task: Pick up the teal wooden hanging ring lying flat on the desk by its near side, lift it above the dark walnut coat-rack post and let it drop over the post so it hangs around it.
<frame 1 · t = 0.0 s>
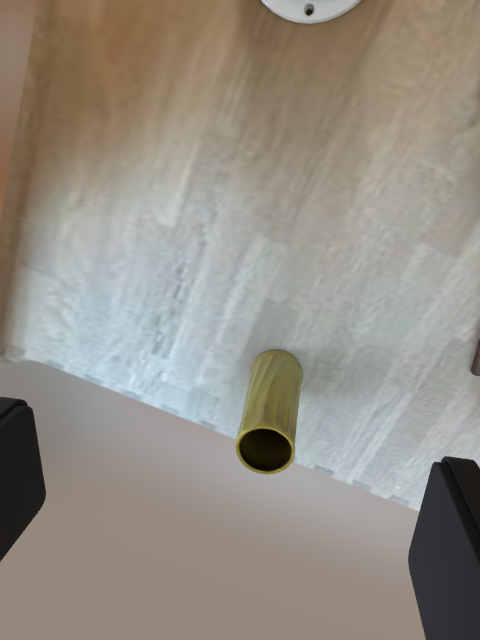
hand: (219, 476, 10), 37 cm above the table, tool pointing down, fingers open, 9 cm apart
vase: (276, 372, 50), on the table
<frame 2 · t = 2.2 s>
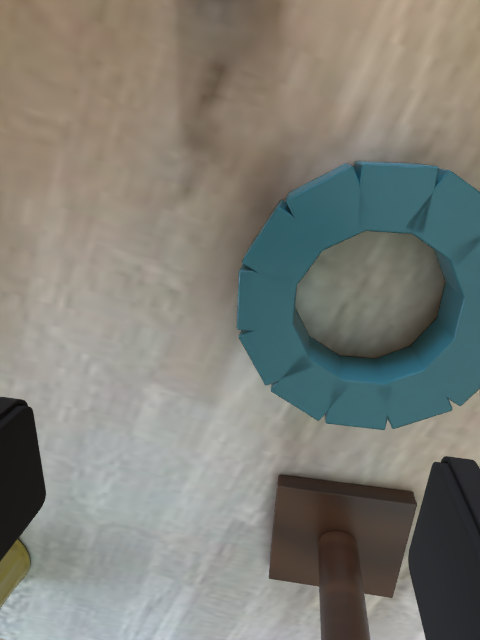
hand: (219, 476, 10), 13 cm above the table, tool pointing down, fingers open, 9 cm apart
ring: (366, 293, 21), on the table
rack: (336, 531, 27), on the table
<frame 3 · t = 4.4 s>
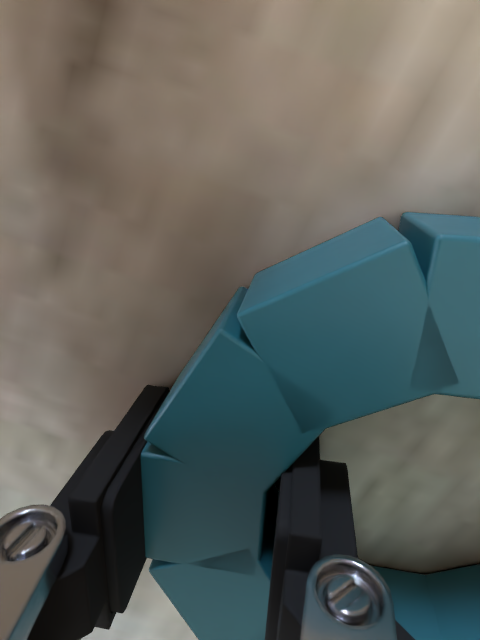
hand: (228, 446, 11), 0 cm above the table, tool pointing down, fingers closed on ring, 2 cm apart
ring: (414, 467, 10), on the table, touching gripper
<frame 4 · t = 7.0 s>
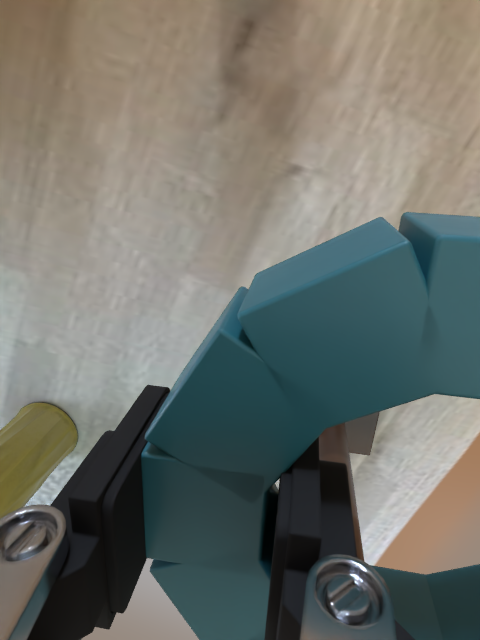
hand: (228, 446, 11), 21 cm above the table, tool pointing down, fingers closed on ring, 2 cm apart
ring: (415, 467, 10), point 21 cm above the table, touching gripper
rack: (326, 401, 34), on the table
vase: (49, 427, 40), on the table
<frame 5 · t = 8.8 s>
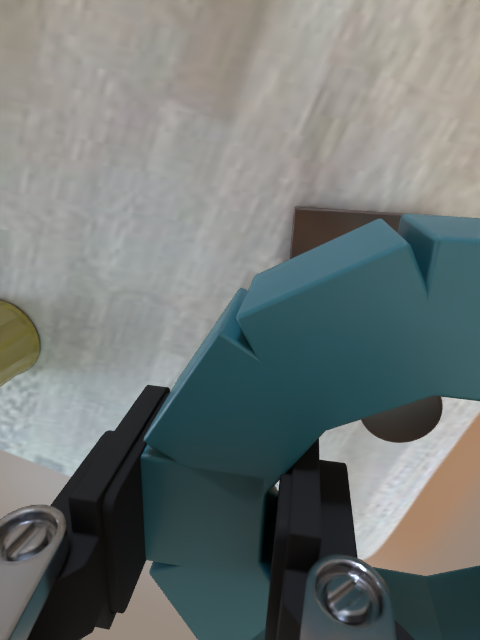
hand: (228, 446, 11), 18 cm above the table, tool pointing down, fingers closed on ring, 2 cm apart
ring: (415, 468, 10), point 17 cm above the table, touching gripper
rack: (353, 276, 26), on the table
vase: (5, 335, 32), on the table
when the fingers open (14 cm above the table, at t = 10.1 s): ring drops 13 cm, resting on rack.
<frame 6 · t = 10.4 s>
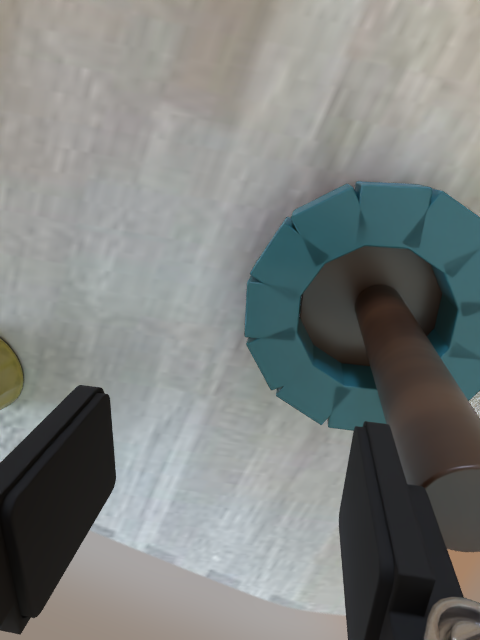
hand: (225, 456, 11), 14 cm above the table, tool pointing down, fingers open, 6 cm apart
ring: (367, 304, 22), point 1 cm above the table, touching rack
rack: (375, 300, 23), on the table
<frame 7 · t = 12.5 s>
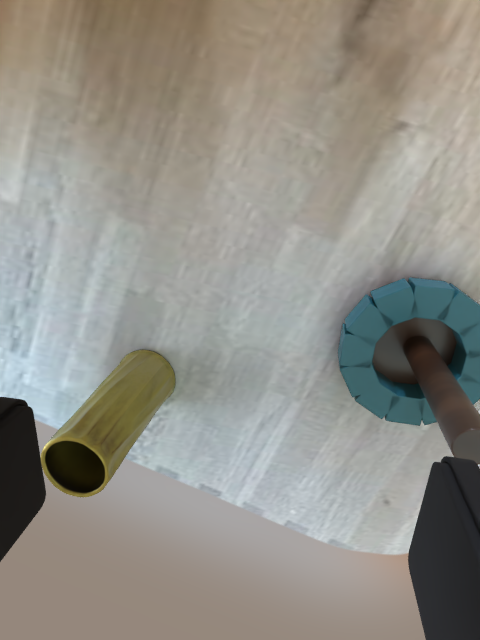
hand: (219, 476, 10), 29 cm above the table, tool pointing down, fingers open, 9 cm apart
ring: (411, 347, 37), point 1 cm above the table, touching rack
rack: (415, 343, 38), on the table
vase: (148, 375, 44), on the table
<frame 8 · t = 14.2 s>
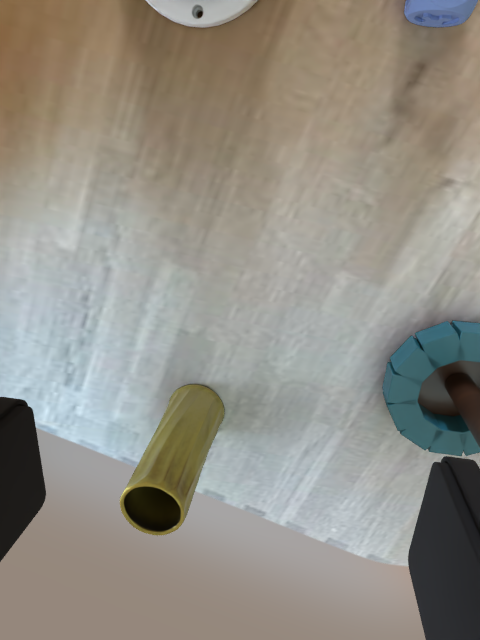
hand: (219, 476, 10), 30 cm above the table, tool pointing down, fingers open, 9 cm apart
ring: (452, 382, 39), point 1 cm above the table, touching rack
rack: (455, 378, 40), on the table
vase: (197, 407, 46), on the table
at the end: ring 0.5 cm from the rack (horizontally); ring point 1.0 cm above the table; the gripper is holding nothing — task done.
